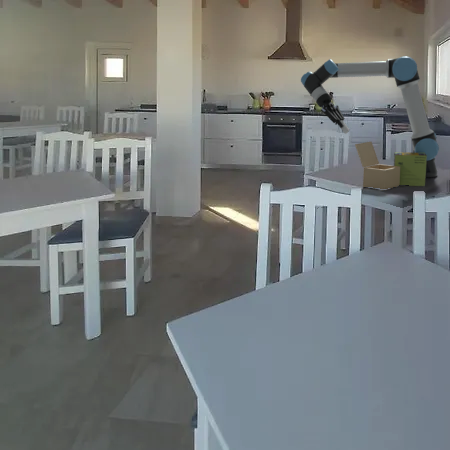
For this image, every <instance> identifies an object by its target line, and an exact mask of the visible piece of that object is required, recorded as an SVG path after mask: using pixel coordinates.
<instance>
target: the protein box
mask: <svg viewBox="0 0 450 450" xmlns="http://www.w3.org/2000/svg"><path fill="white" fill-rule="evenodd" d="M426 160H427V155H426V154H425V153H413V151H412V152H407V151H406V152H403V151H402V152H400V151H398V152H394V153H393V166H400V183H399V185H409V186H408V187H425V186H426V178H427V177H426Z"/></svg>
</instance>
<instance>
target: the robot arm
mask: <svg viewBox="0 0 450 450" xmlns="http://www.w3.org/2000/svg"><path fill="white" fill-rule="evenodd" d="M357 77H358V78H359V77H361V78H362V77H363V78H365V77H386V78H388V79H390V78H391V79H394V81H395V84H396V87H397V88H398V89H400V90H401V91H400V92H401V95H402V99H403V102H404V105H405V110H406V113H407V116H408V120H409V124H410V128H411V131H412V135H411V137H410V138H411V142H412V152H413V153H425V154H426V155H427V160H426V177H425V178H435V177H437V176H438V169H437V166H436V161H435V159H436V157H437V156H438V153H439V151H440V146H439V143H438V142H437V134H436V133H435V131H434V130H432V129H431V128H430V123H429V121H428V120H429V119H428V118H427V114H426V110H425V105H424V102H423V99H422V94H421V91H420V87H419V82H420V80H421V78H420V74H419V71H418V64H417V62H416V60H415V59H414V58H413V57H411V56H408V55H407V56H406V55H403V56H400V57H397V58H396V57H395V58H387V59H386V60H384V61H382V60H381V61H361V62H358V61H357V62H337V63H336V62H334V61H333V60H332V59H331V58H329V59H328V60H327V61H325V62H324V63H322V65H321V66H319V67H318V68H317V69H316V70H315V71H314V72H312V71H307V72H305V73H304V74H303V75H302V76H301V77H300V82H301V84H302V85H303V87H304V88H305V90H306V91H307V92H308V93H309V95H310V96H311V97H312V99H313V100H314V101H315V103H316V105H317V106H318V108H321V109H320V111H321V112H322V113H324V115H325V116H326V117H327V118H328V119H329V120H330V121H331V122H332V123H333V124H334V125H336V126H337V125H338V127H339V128H340V129H341V131H342V132H343V134H345V135H347V134H348V133H349V132H350V130H351V129H350V128H349V126H348V125H347V124H346V123H345V117H344V115H343V113H342V111H341V110H340V107H339V105H338V104H336V105H335V104H334V103H333V101H332V96H330V95H329V93H328V91H327V90H326V89H325V88H324V87H323V85H324V83H325V82H327V81H328V80H329V79H330V78H331V79H332V78H333V79H334V78H357Z"/></svg>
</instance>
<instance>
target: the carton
mask: <svg viewBox="0 0 450 450" xmlns="http://www.w3.org/2000/svg"><path fill="white" fill-rule="evenodd" d="M362 177H363V178H362V181H363V182H362V183H363V184H362V188H363V187H373V188H380V189H388V188H392V189H394V188H393V187H396V188H398V187H397V186H399V183H400V166H394V165H389V164H380V163H379V164H376V165H372V166H367V167H363V176H362ZM399 187H400V186H399ZM388 190H389V189H388Z"/></svg>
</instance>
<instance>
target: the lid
mask: <svg viewBox="0 0 450 450" xmlns="http://www.w3.org/2000/svg"><path fill="white" fill-rule="evenodd" d="M354 146H355V150H356V151H357V154H358V158H359V161H360V164H361V166H362V168H364V167H369V166H373V165H378V164H380V162H379V159H378V157H377V153H376V150H375V147H374V145H373V141H367V142H360V143H356V144H354Z"/></svg>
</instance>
